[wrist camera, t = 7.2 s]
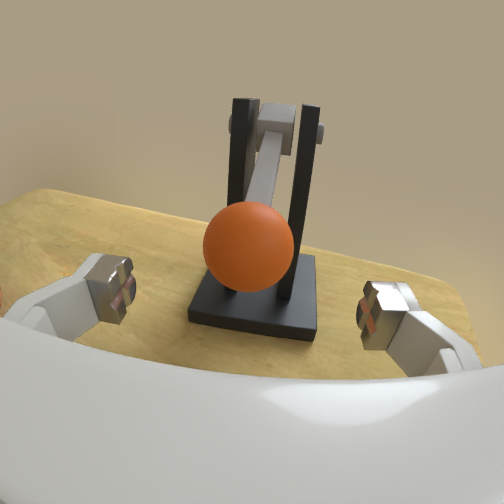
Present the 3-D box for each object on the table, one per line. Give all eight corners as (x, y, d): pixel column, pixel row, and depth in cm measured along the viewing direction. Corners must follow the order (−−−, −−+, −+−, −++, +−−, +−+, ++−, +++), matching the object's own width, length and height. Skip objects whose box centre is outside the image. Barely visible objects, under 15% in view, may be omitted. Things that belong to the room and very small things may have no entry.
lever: (283, 314, 12) (295, 263, 9) (199, 300, 12) (183, 247, 10) (302, 143, 20) (307, 98, 17) (252, 137, 20) (252, 93, 17)
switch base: (313, 342, 20) (364, 116, 12) (188, 321, 21) (182, 98, 13) (312, 266, 28) (339, 109, 21) (221, 253, 29) (228, 96, 22)
